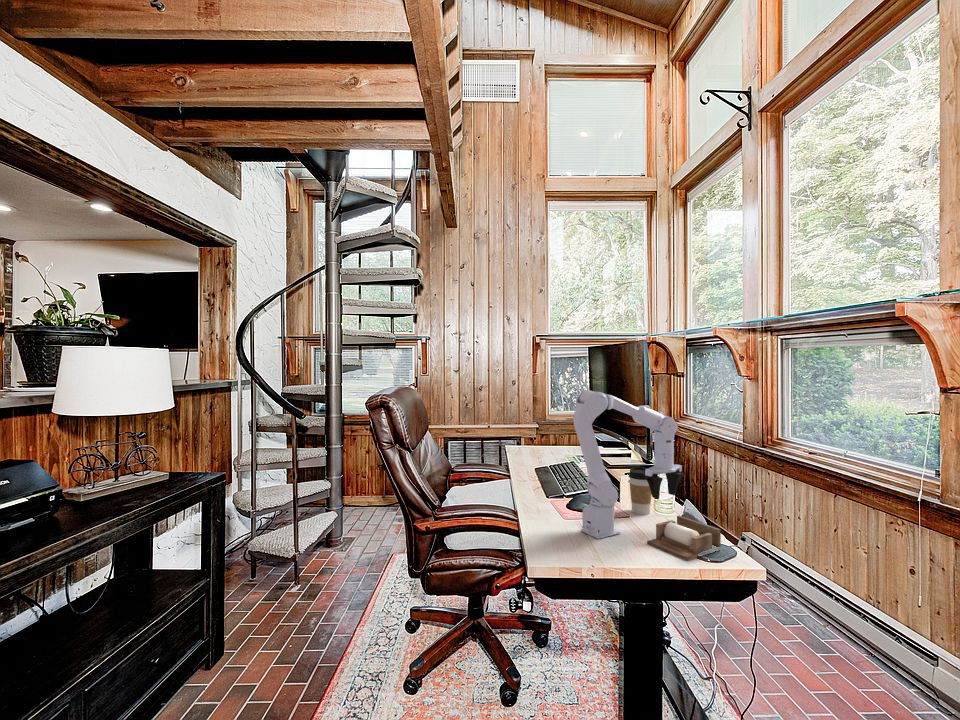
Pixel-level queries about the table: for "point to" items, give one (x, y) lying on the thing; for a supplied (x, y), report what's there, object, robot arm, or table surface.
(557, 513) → the table surface
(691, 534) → the roll
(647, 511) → the coffee cup
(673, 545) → the holder
